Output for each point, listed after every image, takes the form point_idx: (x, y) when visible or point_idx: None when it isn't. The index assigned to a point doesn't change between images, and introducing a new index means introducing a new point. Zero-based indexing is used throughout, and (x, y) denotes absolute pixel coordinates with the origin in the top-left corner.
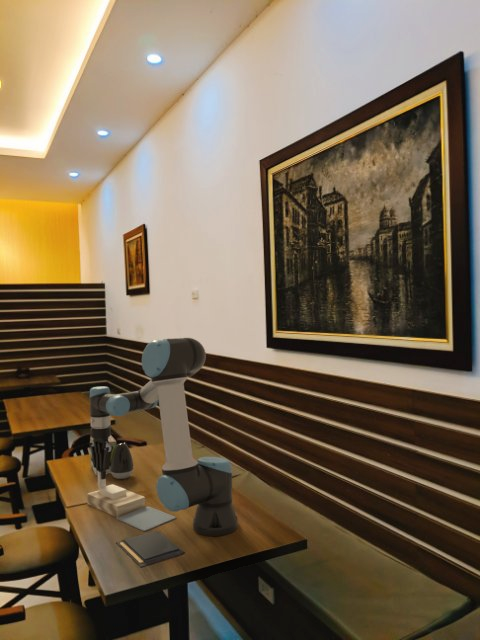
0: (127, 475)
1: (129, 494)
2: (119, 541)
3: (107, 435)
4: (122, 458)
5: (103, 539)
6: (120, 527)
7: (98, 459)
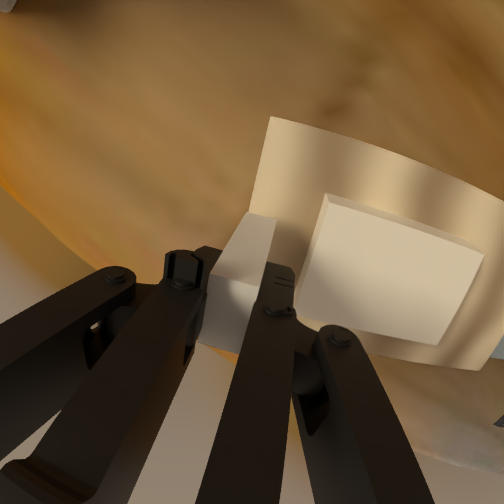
0: None
1: (483, 230)
2: (501, 419)
3: None
4: None
5: (463, 430)
6: (489, 379)
7: (153, 438)
